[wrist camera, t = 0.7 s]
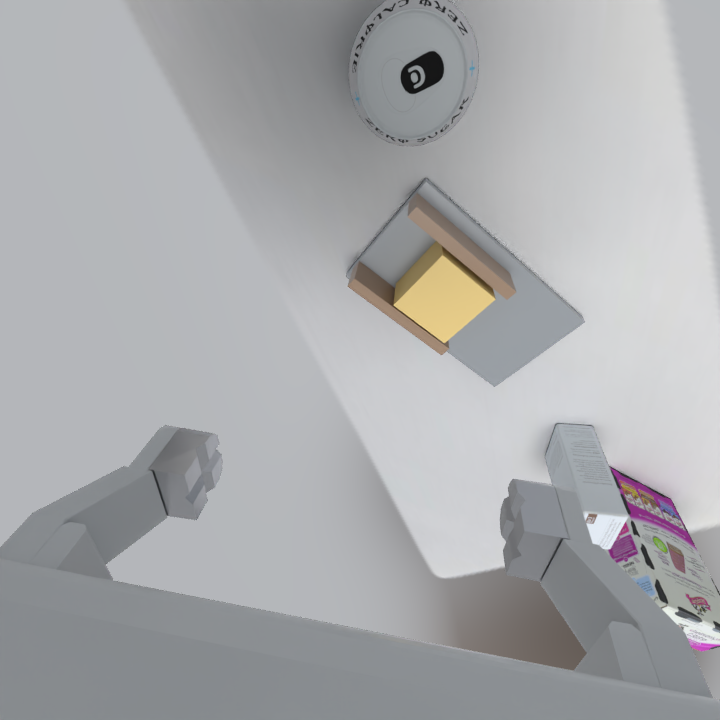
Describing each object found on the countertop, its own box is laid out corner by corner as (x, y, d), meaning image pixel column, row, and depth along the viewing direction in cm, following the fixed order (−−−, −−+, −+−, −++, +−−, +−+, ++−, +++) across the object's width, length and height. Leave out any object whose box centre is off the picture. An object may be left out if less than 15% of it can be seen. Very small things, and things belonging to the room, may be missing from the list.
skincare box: (579, 458, 53) (613, 553, 44) (541, 456, 54) (567, 549, 44) (594, 422, 49) (634, 518, 40) (553, 420, 50) (583, 514, 40)
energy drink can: (359, 33, 30) (318, 38, 18) (442, -17, 28) (456, -48, 16) (393, 122, 33) (377, 175, 21) (470, 82, 31) (499, 117, 19)
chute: (347, 271, 41) (340, 294, 38) (426, 178, 35) (426, 194, 32) (493, 381, 47) (499, 409, 44) (582, 316, 41) (596, 343, 38)
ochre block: (395, 283, 40) (393, 305, 37) (440, 235, 37) (442, 255, 34) (442, 319, 42) (444, 343, 39) (489, 277, 39) (495, 299, 36)
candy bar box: (577, 484, 56) (623, 622, 43) (608, 464, 53) (668, 605, 40) (639, 516, 59) (701, 655, 46) (673, 499, 56) (748, 642, 43)
